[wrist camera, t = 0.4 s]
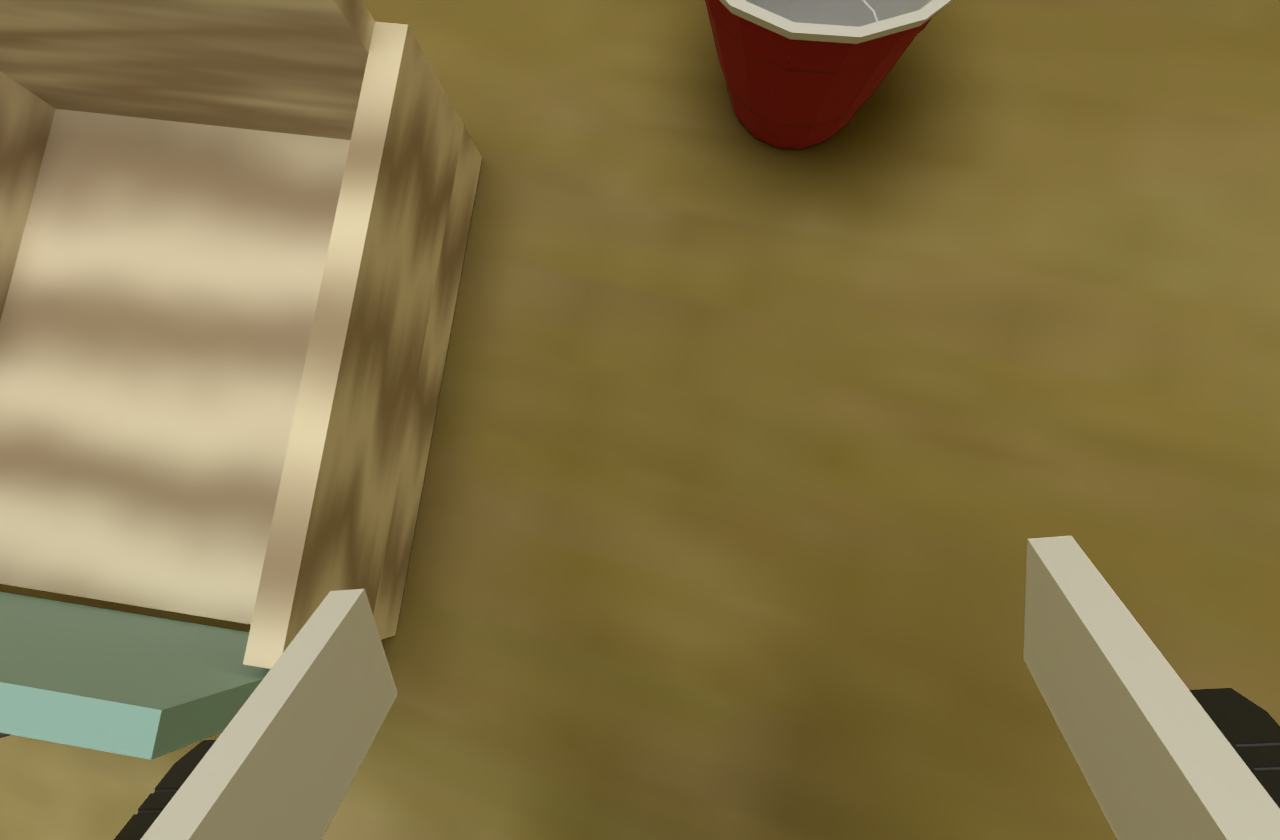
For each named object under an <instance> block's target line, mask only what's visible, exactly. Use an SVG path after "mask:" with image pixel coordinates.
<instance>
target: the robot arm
mask: <svg viewBox="0 0 1280 840" xmlns="http://www.w3.org/2000/svg"><path fill="white" fill-rule="evenodd" d="M1024 661H1025V663H1026V665H1027V667H1028V669H1029V671H1030V673H1031V675H1032V677H1033V679H1034V681H1035V682H1036V684H1037V686H1038V688H1039V690H1040V692H1041V694H1042V696H1043V698H1044V700H1045V702H1046V704H1047V706H1048V708H1049V709H1050V711H1051V713H1052V715H1053V717H1054V719H1055V721H1056V723H1057V725H1058V727H1059V729H1060V731H1061V733H1062V734H1063V736H1064V738H1065V740H1066V742H1067V744H1068V746H1069V748H1070V750H1071V752H1072V754H1073V756H1074V758H1075V760H1076V761H1077V763H1078V765H1079V767H1080V769H1081V771H1082V773H1083V775H1084V777H1085V779H1086V781H1087V783H1088V785H1089V787H1090V788H1091V790H1092V792H1093V794H1094V796H1095V798H1096V800H1097V802H1098V804H1099V806H1100V808H1101V810H1102V812H1103V814H1104V815H1105V817H1106V819H1107V821H1108V823H1109V825H1110V827H1111V829H1112V831H1113V833H1114V835H1115V837H1116V839H1117V840H1280V726H1279V725H1278V724H1277V723H1276V722H1275V721H1274V719H1273V718H1272V717H1271V716H1270V715H1269V714H1268V712H1266V711H1265V710H1263V709H1262V708H1260V707H1259V706H1257V705H1256V704H1254V703H1253V702H1251V701H1250V700H1248V699H1247V698H1245V697H1244V696H1242V695H1241V694H1239V693H1238V692H1236V691H1235V690H1233V689H1232V688H1221V689H1201V690H1189V689H1188V688H1187V687H1186V685H1185V684H1184V683H1183V681H1182V680H1181V679H1180V677H1179V676H1178V675H1177V674H1176V672H1175V671H1174V670H1173V668H1172V667H1171V666H1170V664H1169V663H1168V662H1167V660H1166V659H1165V658H1164V657H1163V655H1162V654H1161V653H1160V651H1159V650H1158V649H1157V647H1156V646H1155V645H1154V643H1153V642H1152V641H1151V640H1150V638H1149V637H1148V636H1147V634H1146V633H1145V632H1144V630H1143V629H1142V628H1141V626H1140V625H1139V624H1138V622H1137V621H1136V620H1135V619H1134V617H1133V616H1132V615H1131V613H1130V612H1129V611H1128V609H1127V608H1126V607H1125V605H1124V604H1123V603H1122V602H1121V600H1120V599H1119V598H1118V596H1117V595H1116V594H1115V592H1114V591H1113V590H1112V588H1111V587H1110V586H1109V584H1108V583H1107V582H1106V581H1105V579H1104V578H1103V577H1102V575H1101V574H1100V573H1099V571H1098V570H1097V569H1096V567H1095V566H1094V565H1093V564H1092V562H1091V561H1090V560H1089V558H1088V557H1087V556H1086V554H1085V553H1084V552H1083V550H1082V549H1081V548H1080V547H1079V545H1078V544H1077V543H1076V541H1075V540H1074V539H1073V537H1072V536H1059V537H1046V538H1033V539H1028V540H1027V570H1026V600H1025V630H1024ZM397 695H398V692H397V689H396V686H395V683H394V680H393V677H392V673H391V670H390V667H389V664H388V661H387V658H386V655H385V651H384V648H383V645H382V642H381V639H380V636H379V632H378V629H377V626H376V623H375V620H374V617H373V614H372V610H371V607H370V604H369V601H368V598H367V595H366V592H365V589H352V590H339V591H330V592H329V593H328V595H327V596H326V597H325V599H324V600H323V601H322V603H321V604H320V605H319V607H318V608H317V609H316V610H315V612H314V613H313V614H312V616H311V617H310V618H309V620H308V621H307V622H306V624H305V625H304V626H303V627H302V629H301V630H300V631H299V633H298V634H297V635H296V637H295V638H294V639H293V641H292V642H291V643H290V644H289V646H288V647H287V648H286V650H285V651H284V652H283V654H282V655H281V656H280V658H279V659H278V660H277V661H276V663H275V664H274V665H273V667H272V668H271V669H270V671H269V672H268V673H267V675H266V676H265V677H264V678H263V680H262V681H261V682H260V684H259V685H258V686H257V688H256V689H255V690H254V692H253V693H252V694H251V696H250V697H249V698H248V699H247V701H246V702H245V703H244V705H243V706H242V707H241V709H240V710H239V711H238V713H237V714H236V715H235V716H234V718H233V719H232V720H231V722H230V723H229V724H228V726H227V727H226V728H225V730H224V731H223V732H222V733H221V735H220V736H219V737H218V739H217V740H203V741H202V742H201V743H200V744H198V745H197V746H196V747H195V748H193V749H192V750H191V751H190V752H188V753H187V754H186V755H185V756H183V757H182V758H181V759H180V760H178V761H177V762H176V763H175V764H174V765H173V766H172V768H171V769H170V770H169V771H168V773H167V774H166V775H165V776H164V778H163V779H162V780H161V781H160V783H159V784H158V785H157V786H156V788H155V792H154V793H153V794H150V795H149V796H148V798H147V799H146V800H145V801H144V803H143V804H142V805H141V806H140V808H139V809H138V814H136V815H133V816H132V818H131V819H130V820H129V821H128V823H127V824H126V825H125V826H124V828H123V829H122V830H121V831H120V833H119V834H118V835H117V836H116V838H115V839H114V840H321V839H322V838H323V836H324V834H325V832H326V830H327V828H328V826H329V824H330V822H331V820H332V819H333V817H334V815H335V813H336V811H337V809H338V807H339V805H340V803H341V801H342V800H343V798H344V796H345V794H346V792H347V790H348V788H349V786H350V784H351V782H352V781H353V779H354V777H355V775H356V773H357V771H358V769H359V767H360V765H361V763H362V762H363V760H364V758H365V756H366V754H367V752H368V750H369V748H370V746H371V744H372V743H373V741H374V739H375V737H376V735H377V733H378V731H379V729H380V727H381V725H382V724H383V722H384V720H385V718H386V716H387V714H388V712H389V710H390V708H391V706H392V705H393V703H394V701H395V699H396V697H397Z"/></svg>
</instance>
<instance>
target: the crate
mask: <svg viewBox="0 0 1280 840" xmlns="http://www.w3.org/2000/svg"><path fill="white" fill-rule="evenodd" d="M481 162H482V157H481V155H480V153H479V151H478V149H477V148H476V146H475V144H474V142H473V141H472V139H471V137H470V135H469V133H468V132H467V130H466V128H465V126H464V124H463V123H462V121H461V119H460V117H459V115H458V114H457V112H456V110H455V108H454V106H453V105H452V103H451V101H450V99H449V97H448V96H447V94H446V92H445V90H444V88H443V87H442V85H441V83H440V81H439V79H438V78H437V76H436V74H435V72H434V70H433V69H432V67H431V65H430V63H429V61H428V60H427V58H426V56H425V54H424V52H423V51H422V49H421V47H420V45H419V43H418V42H417V40H416V38H415V36H414V34H413V33H412V31H411V29H410V27H409V25H406V24H395V23H384V22H375V21H374V19H373V18H372V16H371V14H370V13H369V11H368V9H367V8H366V6H365V5H364V3H363V1H362V0H0V584H5V585H11V586H17V587H23V588H29V589H35V590H42V591H48V592H54V593H60V594H66V595H72V596H78V597H85V598H91V599H97V600H103V601H109V602H115V603H121V604H128V605H134V606H140V607H146V608H152V609H158V610H164V611H171V612H177V613H183V614H189V615H195V616H201V617H208V618H214V619H220V620H226V621H232V622H238V623H244V624H251V627H250V632H249V637H248V642H247V646H246V651H245V656H244V661H243V664H244V665H250V666H256V667H262V668H268V669H271V668H272V667H273V665H274V664H275V663H276V661H277V660H278V659H279V658H280V656H281V655H282V654H283V652H284V651H285V650H286V648H287V647H288V646H289V644H290V643H291V642H292V641H293V639H294V638H295V637H296V635H297V634H298V633H299V631H300V630H301V629H302V627H303V626H304V625H305V624H306V622H307V621H308V620H309V618H310V617H311V616H312V614H313V613H314V612H315V610H316V609H317V608H318V607H319V605H320V604H321V603H322V601H323V600H324V599H325V597H326V596H327V595H328V593H329V592H330V591H339V590H352V589H365V592H366V595H367V598H368V601H369V604H370V607H371V610H372V614H373V617H374V620H375V623H376V626H377V629H378V632H379V636H380V639H381V640H382V639H385V638H388V637H392V636H395V635H396V630H397V625H398V619H399V614H400V608H401V603H402V597H403V592H404V586H405V581H406V575H407V570H408V564H409V559H410V553H411V548H412V542H413V537H414V531H415V526H416V520H417V515H418V509H419V504H420V498H421V493H422V487H423V482H424V476H425V471H426V465H427V460H428V454H429V448H430V443H431V437H432V432H433V426H434V421H435V415H436V410H437V404H438V399H439V393H440V388H441V382H442V377H443V371H444V366H445V360H446V355H447V349H448V344H449V338H450V333H451V327H452V322H453V316H454V311H455V305H456V300H457V294H458V289H459V283H460V278H461V272H462V267H463V261H464V256H465V250H466V245H467V239H468V233H469V228H470V222H471V217H472V211H473V206H474V200H475V195H476V189H477V184H478V178H479V173H480V167H481Z"/></svg>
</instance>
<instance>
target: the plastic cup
mask: <svg viewBox="0 0 1280 840" xmlns="http://www.w3.org/2000/svg"><path fill="white" fill-rule="evenodd" d="M705 1H706V5H707V10H708V14H709V18H710V23H711V27H712V32H713V36H714V41H715V45H716V49H717V54H718V58H719V62H720V65H721V68H722V71H723V74H724V77H725V80H726V84H727V89H728V93H729V96H730V99H731V102H732V105H733V108H734V111H735V114H736V116H737V117H738V118H739V121H740V122H741V123H742V124H743V125H744V126H745V127H746V128H747V130H748V131H749V132H750V133H751V134H752V135H753V136H754V137H755V138H757V139H759V140H761V141H763V142H765V143H768V144H770V145H772V146H774V147H776V148H788V149H803V148H807V147H810V146H813V145H817V144H820V143H823V142H825V141H826V140H827V139H829V138H830V137H832V136H833V135H834V134H835V133H837V132H838V131H839V130H840V129H842V128H843V127H844V126H845V125H847V124H848V123H849V122H850V120H851V119H852V118H853V116H854V115H855V114H856V112H857V111H858V109H859V108H860V107H861V105H862V104H863V103H864V102H865V101H866V100H867V99H869V98H870V97H871V95H872V94H873V93H874V91H875V90H876V89H877V87H878V86H879V85H880V83H881V82H882V81H883V79H884V78H885V77H886V75H887V74H888V73H889V71H890V70H891V68H892V67H893V66H894V64H895V63H896V62H897V60H898V59H899V58H900V56H901V55H902V54H903V52H904V51H905V50H906V48H907V47H908V46H909V44H910V43H911V41H912V40H913V39H914V37H915V36H916V35H917V34H918V33H919V32H920V31H922V30H923V29H924V28H925V27H926V25H927V24H928V22H929V21H930V20H931V18H932V17H933V16H934V15H936V14H937V13H938V12H939V11H941V10H942V9H943V8H945V7H946V6H947V5H948V4H950V3H951V2H952V1H954V0H705Z"/></svg>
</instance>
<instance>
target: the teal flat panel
mask: <svg viewBox="0 0 1280 840" xmlns="http://www.w3.org/2000/svg"><path fill="white" fill-rule="evenodd" d="M248 637H249V632H245V631H239V630H233V629H227V628H221V627H215V626H209V625H202V624H196V623H190V622H184V621H178V620H172V619H166V618H160V617H154V616H147V615H141V614H135V613H129V612H123V611H117V610H111V609H105V608H99V607H92V606H86V605H80V604H74V603H68V602H62V601H56V600H50V599H44V598H37V597H31V596H25V595H19V594H13V593H7V592H1V591H0V738H2V737H5V736H9V735H17V736H22V737H28V738H33V739H39V740H44V741H50V742H55V743H61V744H66V745H72V746H78V747H83V748H89V749H94V750H100V751H105V752H111V753H116V754H122V755H128V756H133V757H139V758H144V759H150V760H152V759H154V758H157V757H159V756H162V755H164V754H167V753H169V752H172V751H174V750H177V749H180V748H182V747H185V746H187V745H190V744H192V743H195V742H197V741H200V740H202V739H205V738H207V737H210V736H213V735H215V734H218V733H220V732H223V731H224V730H225V728H226V727H227V726H228V724H229V723H230V722H231V720H232V719H233V718H234V716H235V715H236V714H237V713H238V711H239V710H240V709H241V707H242V706H243V705H244V703H245V702H246V701H247V699H248V698H249V697H250V696H251V694H252V693H253V692H254V690H255V689H256V688H257V686H258V685H259V684H260V682H261V681H262V680H263V678H264V677H265V676H266V675H267V673H268V672H269V671H270V669H268V668H262V667H256V666H250V665H244V664H243V661H244V656H245V651H246V646H247V642H248Z"/></svg>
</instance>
